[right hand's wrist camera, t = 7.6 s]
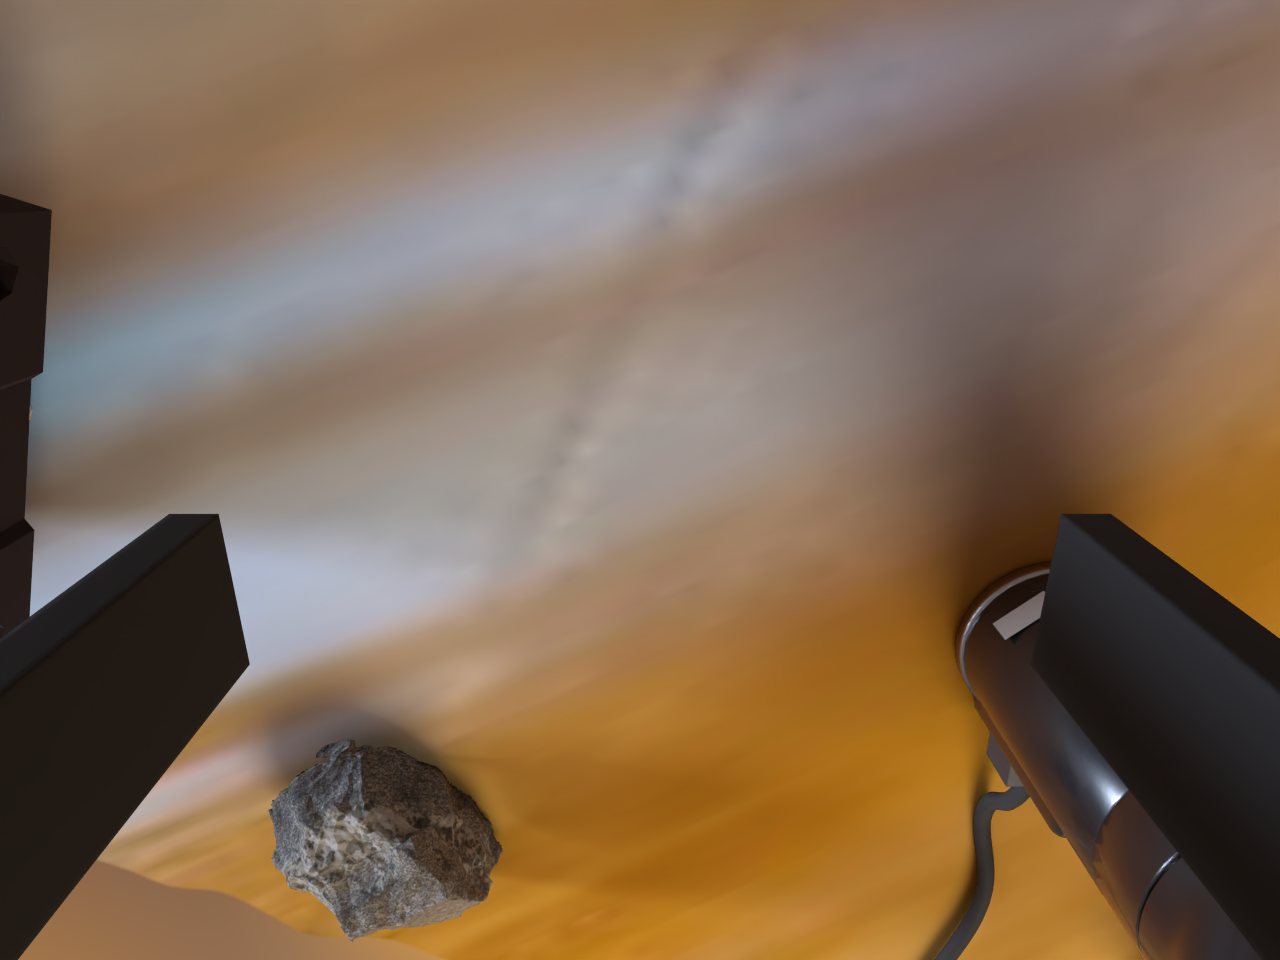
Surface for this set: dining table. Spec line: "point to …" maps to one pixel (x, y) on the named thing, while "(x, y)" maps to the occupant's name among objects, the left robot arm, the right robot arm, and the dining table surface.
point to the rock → (382, 840)
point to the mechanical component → (19, 389)
